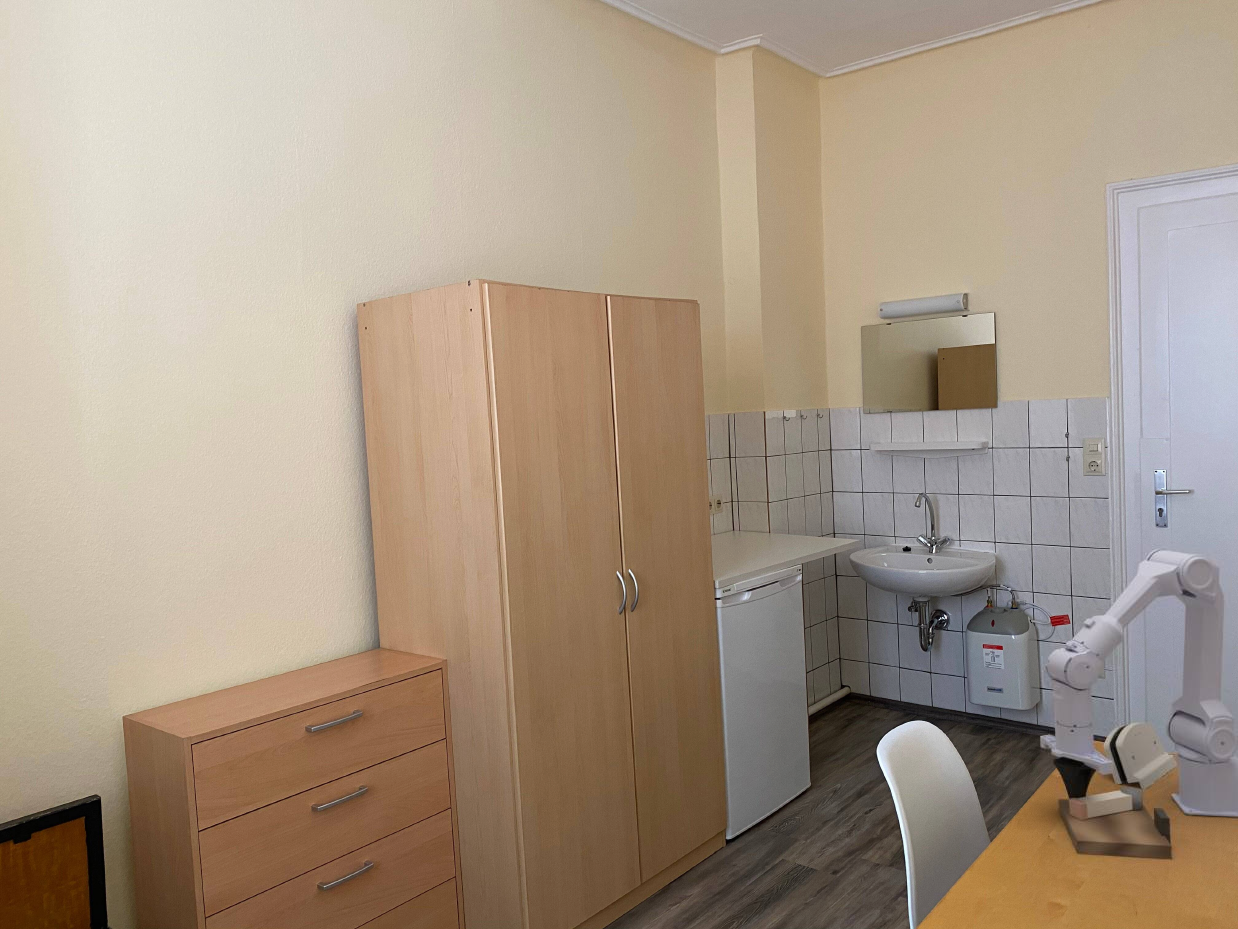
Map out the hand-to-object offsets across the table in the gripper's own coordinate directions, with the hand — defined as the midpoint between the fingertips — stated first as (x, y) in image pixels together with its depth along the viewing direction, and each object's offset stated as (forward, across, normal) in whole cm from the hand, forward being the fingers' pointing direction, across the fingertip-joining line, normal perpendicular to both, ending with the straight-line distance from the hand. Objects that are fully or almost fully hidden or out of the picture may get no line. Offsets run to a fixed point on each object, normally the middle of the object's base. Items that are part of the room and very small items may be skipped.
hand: (1077, 802), depth 154 cm
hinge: (+4, -14, +26) cm, 29 cm away
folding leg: (+1, +2, +4) cm, 5 cm away
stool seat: (+3, +5, +2) cm, 6 cm away
